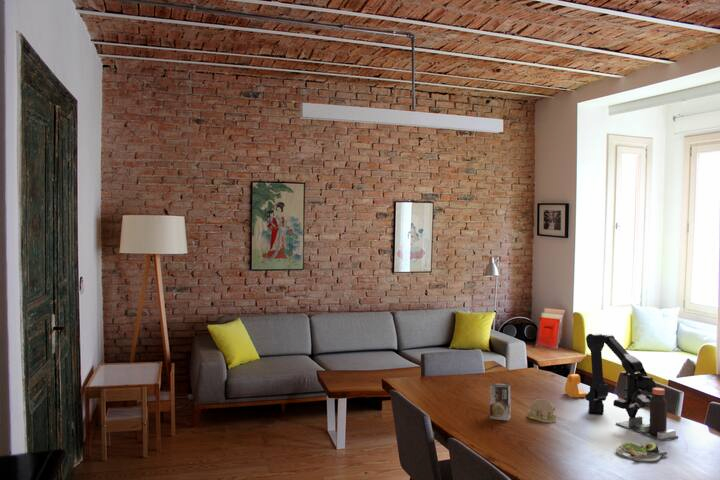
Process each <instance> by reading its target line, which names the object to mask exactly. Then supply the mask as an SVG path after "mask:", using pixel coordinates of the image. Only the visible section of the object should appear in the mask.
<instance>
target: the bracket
mask: <svg viewBox="0 0 720 480" xmlns="http://www.w3.org/2000/svg"><path fill="white" fill-rule="evenodd" d="M580 383H581V376H580V374H578V373H573V374H568V375H567V378H566V382H565V385H564V393H565V394H566V395H567V396H568V397H571V398H585V395H586V394H587V393H588V392H585V391H583V390H581V389H579V388H578V387H579V386H578V385H579V384H580Z"/></svg>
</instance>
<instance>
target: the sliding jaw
mask: <svg viewBox="0 0 720 480" xmlns="http://www.w3.org/2000/svg"><path fill="white" fill-rule="evenodd" d="M628 421H629V426H631V427H632V426H637V427H639V428H641V431H642V432H649V431H650V423H649V424H645V425H642V423H643V417H642V416H635V417H633V418H630V417H629V418H628Z"/></svg>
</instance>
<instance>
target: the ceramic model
mask: <svg viewBox="0 0 720 480" xmlns="http://www.w3.org/2000/svg"><path fill="white" fill-rule="evenodd" d="M555 410H556V407H555V405H554V404H552V402H551V400H547V399H545V398H544V397H541V398H536V399H535V400H533V401H532V402H531V405H530V409H529V410H528V411H527V414H526V415H527V418H529V419H531V420H536V421H539V422H542V423H556V422H557V416H556V415H555V414H554V411H555Z"/></svg>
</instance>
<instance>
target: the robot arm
mask: <svg viewBox="0 0 720 480" xmlns="http://www.w3.org/2000/svg"><path fill="white" fill-rule="evenodd" d="M585 341H586V346H587V348H588V350H589V351H590V359H591V372H592V373H591V375H592V381H591V383H590V385H589V391H588V392H586V393H587V394H586V395H585V397H584V398H585V400H586V401H588V409H587V411H588V414H590V415H591V414H593V415H601V416H602V415H604V413H605V409H604V408H605V404H604V402H605V401H606V400H607V397H608V396H609V393H610V391H609V384H607V383H606V382H605V381H604V372H603V371H604V370H603V358H602V351H603V349H604V347H605V345H606V346H607V347H608V348H609V349H610V350H611V351H612V352H613V354H614V355H615V357H617V358H618V359H619V360H620V363H621V366H622V368H623V370H625V372H624V373H622V376H623V377H626V387H625V388H624V389H623V390H624V392H625V396H623V399H622V398H619V399H614V400H613V404H612V405H613V406H614V407H615V408H620V409H623V410H624V409H625V411H626V412H627V415H628V417H629V418H633V417H637V414H638V412H639V410H640V409H643V408H650V399H651V398H652V397H653V395H651V393H652V394H653V388H657V384H656V381H654V378H653V377H651V376H648V373H647V371H646V370H645V367H644V366H643V363H642V362H641V361H640V360H639V359H638V358H637V357H635V356H633V355H632V354H630V353H629V352H628V351H627V350H626V349H625V348H624V347H623V346H622V344H621V343H620V342H619V341H618V340H617V339H616V338H615V336H614V335H613V334H602V333H600V332H599V333H598V332H597V333H589V334H587V336H586V337H585ZM643 392H645V393H650V394H649V395H644V394H643ZM603 401H604V402H603Z"/></svg>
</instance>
